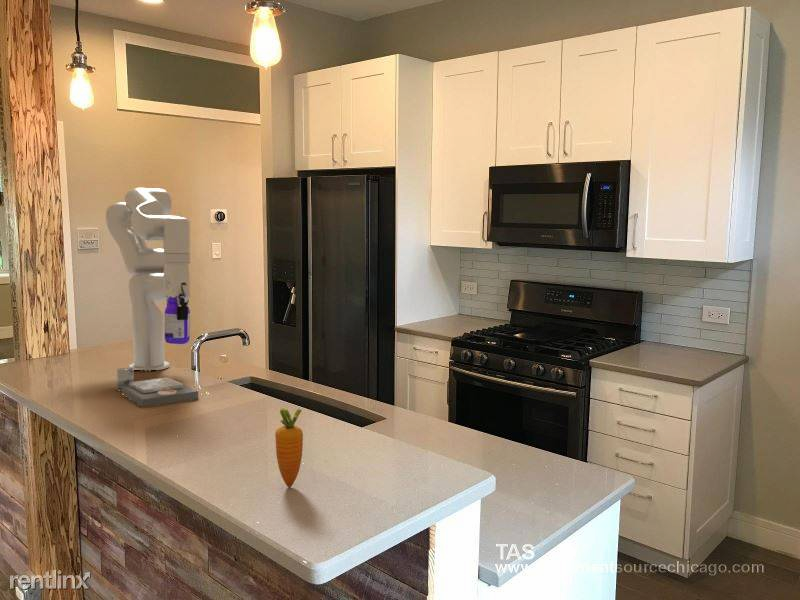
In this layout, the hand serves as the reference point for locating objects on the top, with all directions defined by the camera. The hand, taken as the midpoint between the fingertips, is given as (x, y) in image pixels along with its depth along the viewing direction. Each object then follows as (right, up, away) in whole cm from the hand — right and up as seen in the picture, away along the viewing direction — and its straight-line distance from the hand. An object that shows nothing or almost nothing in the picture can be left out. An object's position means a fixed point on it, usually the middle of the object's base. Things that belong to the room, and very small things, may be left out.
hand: (177, 317), depth 201 cm
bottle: (0, -8, +1) cm, 8 cm away
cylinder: (-12, -21, -9) cm, 25 cm away
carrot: (+47, -29, -79) cm, 96 cm away
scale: (0, -22, -16) cm, 27 cm away
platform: (-1, -19, -14) cm, 24 cm away
